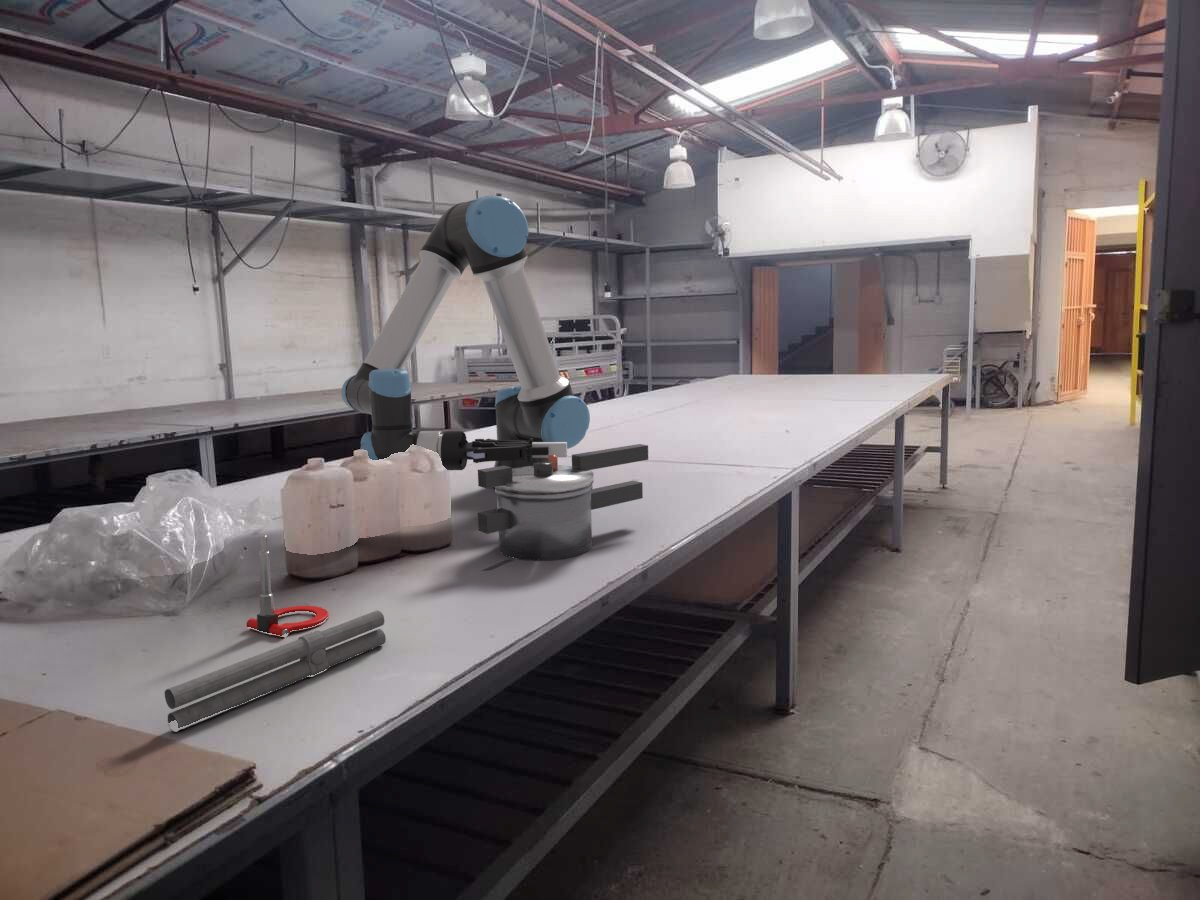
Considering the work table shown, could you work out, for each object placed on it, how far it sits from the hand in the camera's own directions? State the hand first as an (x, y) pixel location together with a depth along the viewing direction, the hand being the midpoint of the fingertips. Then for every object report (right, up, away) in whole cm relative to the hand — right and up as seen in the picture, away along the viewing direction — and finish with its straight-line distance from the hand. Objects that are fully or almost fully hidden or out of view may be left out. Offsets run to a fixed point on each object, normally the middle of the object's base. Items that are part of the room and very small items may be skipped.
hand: (566, 449), depth 153 cm
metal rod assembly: (-28, -26, -63) cm, 74 cm away
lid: (+1, -5, -12) cm, 13 cm away
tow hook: (-34, -23, -46) cm, 62 cm away
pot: (+1, -16, -11) cm, 19 cm away
